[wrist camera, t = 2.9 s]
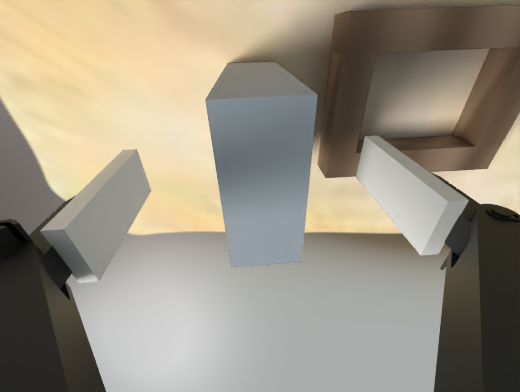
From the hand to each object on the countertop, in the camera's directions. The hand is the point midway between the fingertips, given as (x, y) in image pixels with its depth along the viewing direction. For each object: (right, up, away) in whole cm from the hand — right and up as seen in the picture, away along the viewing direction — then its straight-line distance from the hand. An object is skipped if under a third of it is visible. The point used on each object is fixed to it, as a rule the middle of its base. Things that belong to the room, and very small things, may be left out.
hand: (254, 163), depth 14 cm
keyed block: (0, +6, +8) cm, 10 cm away
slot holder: (+15, +7, +8) cm, 18 cm away
